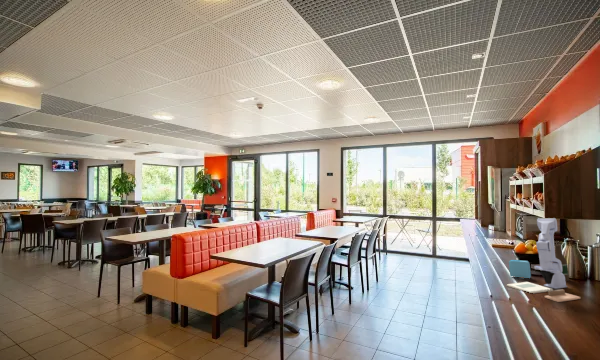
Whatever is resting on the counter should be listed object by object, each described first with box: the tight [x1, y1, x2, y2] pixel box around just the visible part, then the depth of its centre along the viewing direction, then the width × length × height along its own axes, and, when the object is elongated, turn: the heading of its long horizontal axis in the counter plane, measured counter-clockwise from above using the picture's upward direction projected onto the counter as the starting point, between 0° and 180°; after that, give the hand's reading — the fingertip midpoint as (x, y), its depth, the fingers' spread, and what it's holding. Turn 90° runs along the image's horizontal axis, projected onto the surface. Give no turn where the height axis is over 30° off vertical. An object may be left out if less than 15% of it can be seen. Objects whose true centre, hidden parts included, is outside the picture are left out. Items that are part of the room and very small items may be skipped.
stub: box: [544, 288, 581, 303], centre depth 173 cm, size 15×8×4 cm, turn 99°
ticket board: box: [506, 281, 554, 294], centre depth 194 cm, size 16×18×1 cm
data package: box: [508, 259, 532, 279], centre depth 219 cm, size 12×4×12 cm, turn 46°
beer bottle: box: [553, 243, 570, 282], centre depth 207 cm, size 8×8×24 cm
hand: (548, 283), depth 181 cm, fingers closed
